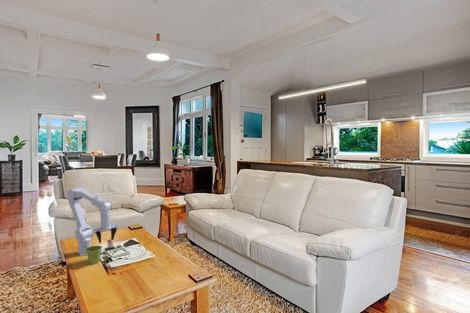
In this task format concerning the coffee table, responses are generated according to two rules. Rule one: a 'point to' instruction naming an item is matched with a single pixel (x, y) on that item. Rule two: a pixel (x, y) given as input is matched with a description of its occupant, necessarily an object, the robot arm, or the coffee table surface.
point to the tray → (118, 254)
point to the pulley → (121, 246)
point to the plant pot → (94, 254)
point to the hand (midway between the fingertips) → (106, 241)
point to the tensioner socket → (111, 249)
